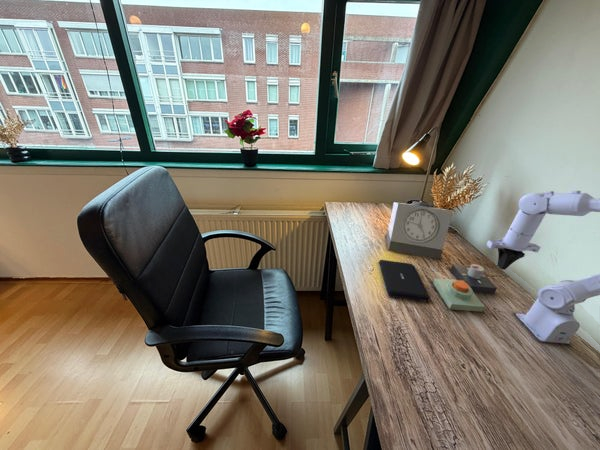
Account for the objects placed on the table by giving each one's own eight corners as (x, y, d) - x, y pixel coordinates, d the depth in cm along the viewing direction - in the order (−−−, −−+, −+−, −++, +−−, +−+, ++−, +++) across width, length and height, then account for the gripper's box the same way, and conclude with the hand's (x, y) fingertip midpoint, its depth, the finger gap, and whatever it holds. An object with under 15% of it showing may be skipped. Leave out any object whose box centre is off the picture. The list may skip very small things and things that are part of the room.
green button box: (482, 311, 76) (487, 302, 74) (449, 309, 76) (454, 299, 74) (461, 285, 86) (465, 276, 84) (432, 283, 86) (436, 274, 85)
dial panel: (494, 293, 83) (497, 287, 82) (467, 291, 84) (470, 285, 82) (473, 271, 94) (476, 265, 93) (450, 269, 94) (452, 263, 93)
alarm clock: (388, 250, 103) (400, 206, 94) (385, 232, 117) (396, 192, 108) (440, 259, 100) (458, 214, 90) (431, 240, 113) (446, 199, 104)
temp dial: (476, 272, 89) (480, 263, 88) (482, 279, 86) (487, 270, 84) (465, 271, 89) (469, 262, 88) (471, 278, 86) (475, 269, 84)
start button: (469, 293, 78) (471, 289, 77) (456, 292, 78) (458, 287, 77) (462, 284, 81) (464, 280, 80) (450, 283, 81) (452, 279, 80)
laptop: (421, 268, 93) (422, 264, 93) (431, 306, 76) (433, 301, 75) (378, 260, 97) (379, 255, 96) (378, 294, 80) (380, 289, 79)
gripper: (535, 226, 77) (514, 261, 83) (488, 223, 77) (471, 258, 83) (554, 238, 70) (531, 275, 77) (503, 234, 71) (484, 271, 77)
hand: (501, 267), depth 80 cm, fingers closed
